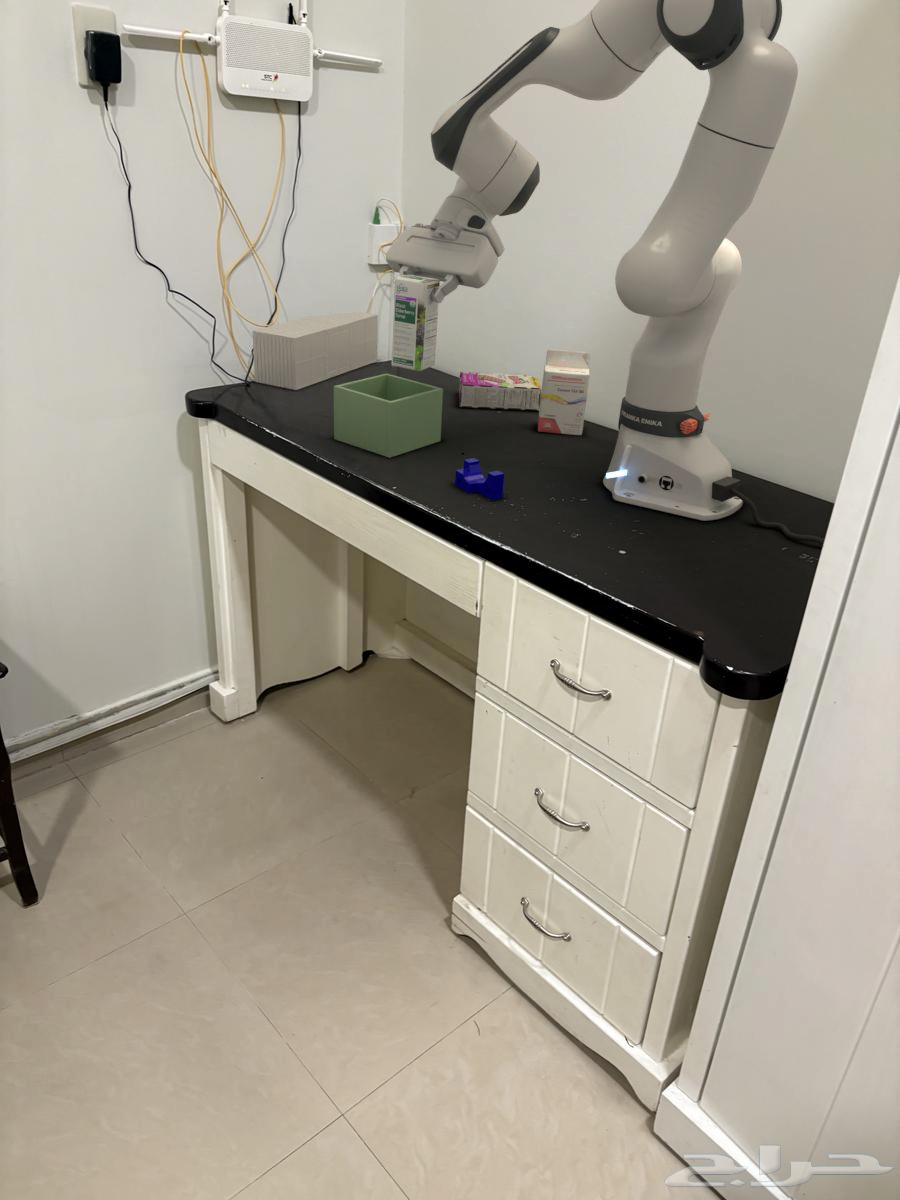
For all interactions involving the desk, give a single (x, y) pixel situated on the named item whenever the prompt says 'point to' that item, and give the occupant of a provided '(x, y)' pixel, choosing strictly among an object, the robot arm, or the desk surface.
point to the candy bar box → (499, 391)
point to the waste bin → (387, 414)
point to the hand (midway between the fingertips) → (417, 296)
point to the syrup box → (414, 322)
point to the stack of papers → (314, 348)
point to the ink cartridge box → (564, 392)
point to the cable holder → (479, 480)
